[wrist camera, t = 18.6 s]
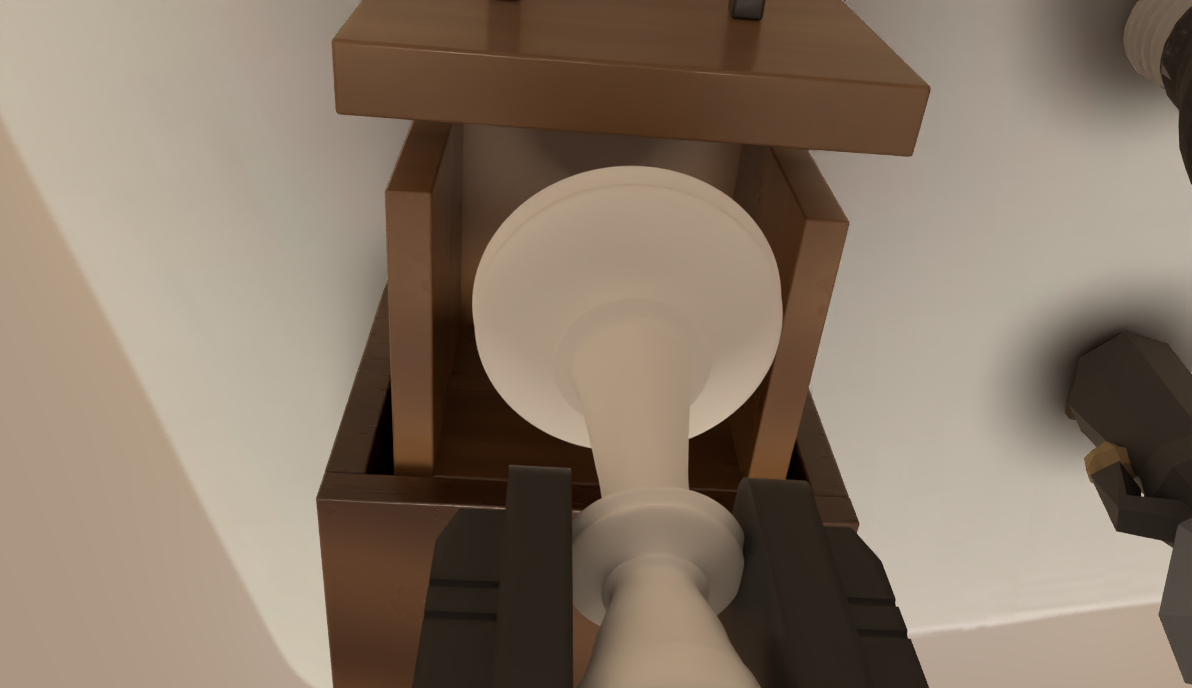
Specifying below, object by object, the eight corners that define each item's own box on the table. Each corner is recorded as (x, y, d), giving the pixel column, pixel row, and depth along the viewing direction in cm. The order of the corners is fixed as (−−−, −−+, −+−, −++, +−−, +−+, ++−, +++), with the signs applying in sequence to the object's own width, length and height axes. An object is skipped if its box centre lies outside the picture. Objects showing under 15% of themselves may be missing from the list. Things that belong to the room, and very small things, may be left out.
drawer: (393, -382, 18) (301, -442, 12) (891, -327, 18) (1056, -357, 12) (407, 323, 26) (358, 509, 20) (753, 344, 26) (809, 530, 20)
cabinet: (389, 271, 26) (315, 498, 18) (775, 296, 27) (860, 524, 19) (398, 556, 32) (344, 820, 24) (716, 570, 32) (763, 831, 25)
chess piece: (636, 95, 14) (746, 692, 5) (841, 310, 16) (1160, 994, 7) (408, 307, 15) (212, 1008, 7) (618, 475, 17) (665, 1180, 9)
